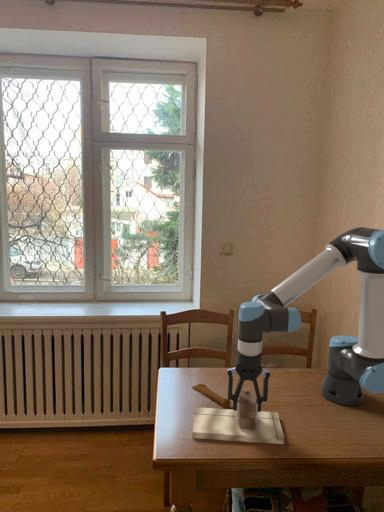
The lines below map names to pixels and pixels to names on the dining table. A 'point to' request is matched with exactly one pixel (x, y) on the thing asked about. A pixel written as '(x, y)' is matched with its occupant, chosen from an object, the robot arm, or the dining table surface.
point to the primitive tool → (212, 395)
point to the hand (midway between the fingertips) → (246, 419)
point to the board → (236, 426)
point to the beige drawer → (247, 409)
